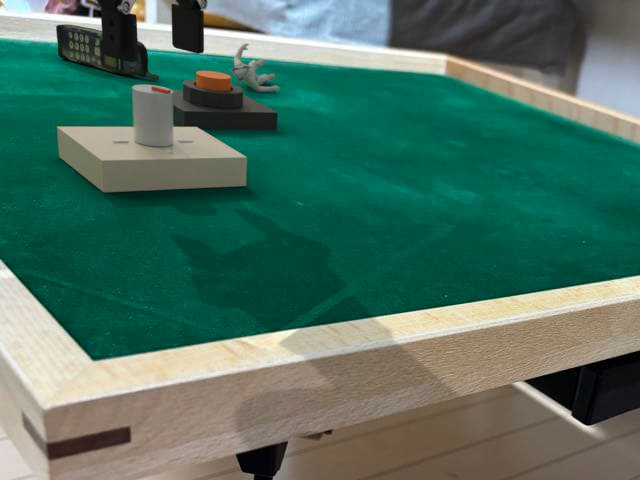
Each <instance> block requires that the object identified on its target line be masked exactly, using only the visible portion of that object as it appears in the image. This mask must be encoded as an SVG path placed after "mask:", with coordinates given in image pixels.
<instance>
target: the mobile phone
mask: <svg viewBox="0 0 640 480" xmlns="http://www.w3.org/2000/svg"><path fill="white" fill-rule="evenodd" d="M55 32H56V33H55V34H56V41H57V56H58V57H59V58H61V59H63V60H67V61H69V62H72V63H77V64H81V65H84V66H87V67H92V68H95V69H97V70H101V71H105V72H109V73H112V74H117V75H124V76H137V77H141V78H146V79H151V80H155V81H159V79H160V76H159V74H154V73H151V72H150V71H149V53H148V49H147V47H146V45H145V44H144V43H142V42H141V41H139V40H138V60H137V61H136V62H128V61H124V60H120V59H116V58H112V57H108V56H106V55H105V54H104V52H103V40H102V30H100V29H96V28H92V27H86V26H81V25H75V24H69V23H68V24H67V23H65V24H64V23H63V24H57V25H55Z"/></svg>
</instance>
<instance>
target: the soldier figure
mask: <svg viewBox="0 0 640 480" xmlns="http://www.w3.org/2000/svg"><path fill="white" fill-rule="evenodd" d="M249 46H250V44H249V43H243V44H241V46H240V47H239V48H238V49H237V50H236V53H235V55H234V57H233V65H234V66H233V68H232V67H231V68H229V71H230V72H231V73H232V74H233V75H234V76H235V77H236V80H237V82H238V84H239V85H241V84H242V83H244V84H246V86H247V87H250V88H251V89H252V90H254V91H255V92H256V93H272V92H274V93H275V92H277V91H280V90H281V87H280V86H278V85H272V86H263V84H269V83H270V81H273V80H274V79H275V78H276V74H275V73H270V74H266V73H264V74H260V75H258V74H257V73H256V70H257V69H258V68H260V67H262V66H264V65H265V59H263V58H261V59H259V60H258V61H256V60H255V59H252V60H251V62H248V64H246V63H243V62H242V61H241V59H242V56H243V52H244V51H248V50H249V48H248V47H249Z"/></svg>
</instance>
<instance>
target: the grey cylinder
mask: <svg viewBox="0 0 640 480" xmlns="http://www.w3.org/2000/svg"><path fill="white" fill-rule="evenodd" d="M172 90H173V89H170V88H168V87H165V86H160V85H156V84H155V85H154V84H134V85H132V87H131V91H132V93H131V95H132V127H133V132H134V141H135V142H137V143H140V144H143V145H148V146H157V147H164V146H170V145H173V143H174V134H173V127H174V123H173V91H172Z"/></svg>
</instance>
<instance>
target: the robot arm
mask: <svg viewBox="0 0 640 480" xmlns="http://www.w3.org/2000/svg"><path fill="white" fill-rule="evenodd" d="M136 1H137V0H94V5H95V7H96V8H98V9H100V21H101V22H100V23H101V31H102V40H103V52H104V54H105V55H106V56H108V57H112V58H116V59H120V60H124V61H128V62H136V61H137V60H138V41H139V40H138V38H139V37H138V19H137V14H134V13H131V11H132V10H133V7H134V5H135V3H136ZM175 1H176V3H171V9H170V10H171V44H172V46H173V47H174V48H175V49H178V50H182V51H186V52H189V53H193V54H197V55H199V54H203V53H204V52H205V17H204V16H205V12H204V11H205V10H206V9H208V4H209V3H208V0H175Z"/></svg>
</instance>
